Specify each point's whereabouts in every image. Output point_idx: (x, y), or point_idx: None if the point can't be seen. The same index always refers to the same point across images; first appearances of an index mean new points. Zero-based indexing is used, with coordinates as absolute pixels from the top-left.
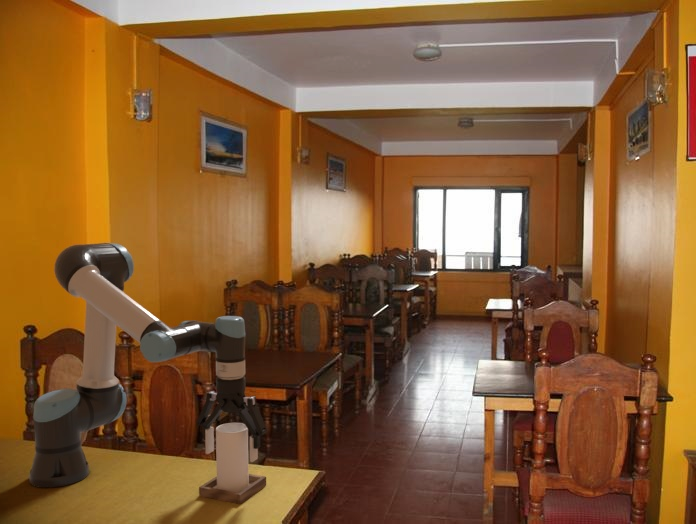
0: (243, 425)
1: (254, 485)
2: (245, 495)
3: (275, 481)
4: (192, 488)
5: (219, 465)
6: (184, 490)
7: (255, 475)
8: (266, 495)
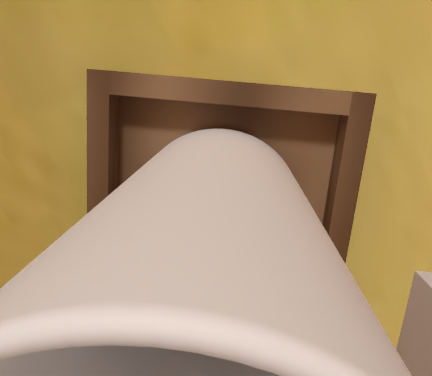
0: (291, 361)
1: (351, 223)
2: None
3: (394, 23)
4: (21, 233)
5: (160, 366)
6: (2, 261)
7: (302, 95)
8: (406, 209)
